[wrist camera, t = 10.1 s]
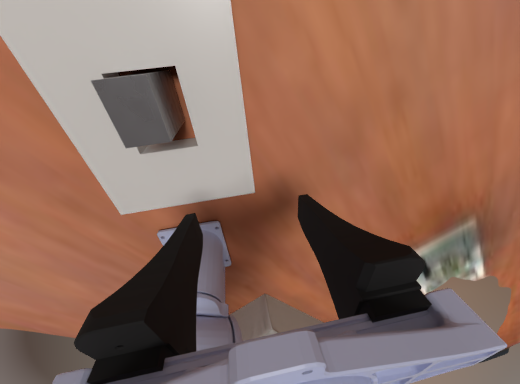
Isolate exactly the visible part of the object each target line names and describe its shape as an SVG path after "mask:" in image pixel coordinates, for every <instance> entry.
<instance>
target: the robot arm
mask: <svg viewBox="0 0 520 384" xmlns="http://www.w3.org/2000/svg"><path fill="white" fill-rule="evenodd" d="M298 219H299V222H300V225H301V227H302V230H303V232H304V234H305V236H306V238H307V240H308V242H309V244H310V246H311V248H312V250H313V251H314V253H315V255H316V257H317V260H318V262H319V264H320V267H321V270H322V272H323V275H324V277H325V280H326V283H327V285H328V288H329V291H330V294H331V297H332V300H333V303H334V306H335V309H336V312H337V315H338V318H339V320H334V321H330V322H325V323H321V324H316V325H312V326H307V327H303V328H299V329H294V330H290V331H285V332H281V333H276V334H272V335H267V336H263V337H258V338H254V339H249V340H245V341H243V340H242V333H241V329H240V327H239V325H238V322H237V320H236V318H235V317H234V316H232V315H228V304H225V267H227V266H230V265H231V260H230V256H229V253H228V249H227V246H226V242H225V239H224V235H223V232H222V228H221V225H220V222H219V221H212V222H206V223H200V224H199V222H198V219H197V217H196V214H195V213H194V214H188V215H186V216H185V217H184V218H183V220H182V221H181V223H180V224H179V226H178V227H177V228H172V229H166V230H160V231H158V233H157V236H158V237H159V239H160V241H161V243H162V244H163V247H162V248H161V250H160V251H159V252H158V253H157V254H156V255H155V256H154V257H153V259H152V260H151V261H150V262H149V263H148V264H147V265H146V266H145V267H144V268H143V269H141V270H140V271H139V272H138V273H137V274H136V275H135V276H134V277H133V278H132V279H131V280H129V281H128V282H127V283H126V284H125V285H123V286H122V287H121V288H120V289H118V290H117V291H116V292H115V293H113V294H112V295H111V296H109V297H108V298H107V299H105V300H104V301H103V302H101V303H100V304H98V305H97V306H96V307H94V308H93V309H91V311H90V312H89V314H88V316H87V318H86V320H85V322H84V324H83V325H82V327H81V329H80V331H79V333H78V335H77V337H76V339H75V341H74V344H75V347H76V349H78V350H79V351H80V352H82V353H84V354H86V355H88V356H90V357H91V358H93V359H95V360H96V361H95V364H94V366H93V368H92V369H91V368H84V369H79V370H74V371H70V372H65V373H60V374H58V375H57V376H56V377H55V379H54V381H53V383H52V384H410V383H413V382H416V381H419V380H423V379H426V378H429V377H433V376H436V375H439V374H442V373H446V372H450V371H453V370H457V369H461V368H464V367H468V366H472V365H475V364H477V363H479V362H481V361H482V360H484V359H486V358H488V357H490V356H491V355H493V354H495V353H497V352H499V351H501V350H502V349H504V348H506V347H507V344H506V343H505V342H504V341H503V340H502V339H501V338H500V337H499V336H498V335H497V334H496V333H495V332H494V331H493V330H492V329H491V328H490V327H489V326H488V325H487V324H486V323H485V322H484V321H483V320H482V319H481V318H480V317H479V316H478V315H477V314H476V313H475V312H474V311H473V310H472V309H471V308H470V307H469V306H468V305H467V304H466V303H465V302H464V301H463V300H462V299H461V298H460V297H459V296H458V295H457V294H456V293H455V292H454V291H453V290H452V289H450V288H447V289H442V290H437V291H433V292H429V293H427V294H425V295H424V294H423V293H422V292H421V291H420V290H419V289H421V286H420V284H419V283H418V282H417V281H416V280H417V279H418V277H419V276H420V274H421V273H422V271H423V269H424V267H425V262H424V260H423V259H422V258H421V257H420V256H419V255H418V254H417V253H416V252H415V251H414V250H413V249H412V248H411V247H410V246H407V245H404V244H400V243H397V242H394V241H390V240H387V239H385V238H382V237H379V236H376V235H374V234H371V233H369V232H367V231H365V230H362V229H360V228H358V227H356V226H354V225H352V224H350V223H348V222H346V221H345V220H343V219H341V218H339V217H338V216H336V215H335V214H333V213H332V212H330V211H329V210H327V209H326V208H324V207H323V206H322V205H320V204H319V203H318V202H316V201H315V200H314V199H312V198H311V197H310V196H309V195H307V194H306V195H300V196H299V199H298ZM216 227H217V228H216ZM162 236H164V237H162Z"/></svg>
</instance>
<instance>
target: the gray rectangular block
mask: <svg viewBox="0 0 520 384" xmlns="http://www.w3.org/2000/svg"><path fill="white" fill-rule="evenodd" d="M91 82H92V84H93V86H94V88H95V90H96V92H97V94H98V96H99V98H100V100H101V102H102V104H103V106H104V107H105V109H106V111H107V113H108V115H109V117H110V119H111V121H112V123H113V125H114V127H115V129H116V131H117V132H118V134H119V136H120V138H121V140H122V142H123V144H124V146H125V148H133V147H140V146H147V145H154V144H161V143H168V142H171V141H172V140H173V138H174V137H175V135H176V134H177V132H178V130H179V129H180V127H181V126H182V124H183V123H184V121H185V118H184V114H183V111H182V108H181V105H180V101H179V98H178V95H177V92H176V88H175V85H174V82H173V78H172V75H171V72H170V70H166V71H157V72H149V73H140V74H132V75H125V76H118V77H112V78H105V79H98V80H91Z"/></svg>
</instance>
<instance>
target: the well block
mask: <svg viewBox="0 0 520 384" xmlns="http://www.w3.org/2000/svg"><path fill="white" fill-rule="evenodd" d="M0 36H1V37H2V39H3V40H4V41H5V43H6V44H7V46H8V47H9V49H10V50H11V52H12V53H13V55H14V56H15V58H16V59H17V61H18V62H19V64H20V65H21V67H22V68H23V70H24V71H25V73H26V74H27V76H28V77H29V79H30V80H31V82H32V83H33V85H34V86H35V88H36V89H37V91H38V92H39V93H40V95H41V96H42V98H43V99H44V101H45V102H46V104H47V105H48V107H49V108H50V110H51V111H52V113H53V114H54V116H55V117H56V119H57V120H58V122H59V123H60V125H61V126H62V128H63V129H64V131H65V132H66V134H67V135H68V137H69V138H70V140H71V141H72V143H73V144H74V145H75V147H76V148H77V150H78V151H79V153H80V154H81V156H82V157H83V159H84V160H85V162H86V163H87V165H88V166H89V168H90V169H91V171H92V172H93V174H94V175H95V177H96V178H97V180H98V181H99V183H100V184H101V186H102V187H103V189H104V190H105V192H106V193H107V195H108V196H109V198H110V199H111V200H112V202H113V203H114V205H115V206H116V208H117V209H118V211H119V212H120V214H121V215H122V214H128V213H135V212H141V211H147V210H153V209H159V208H165V207H171V206H177V205H183V204H189V203H195V202H201V201H207V200H213V199H219V198H226V197H232V196H238V195H244V194H250V193H255V188H254V180H253V172H252V165H251V157H250V149H249V141H248V133H247V126H246V118H245V110H244V102H243V95H242V87H241V79H240V71H239V63H238V56H237V48H236V40H235V32H234V24H233V17H232V9H231V1H230V0H0ZM168 66H175V67H176V71H177V74H178V78H179V81H180V85H181V88H182V92H183V95H184V99H185V102H186V105H187V109H188V112H189V116H190V119H191V123H192V126H193V130H194V133H195V137H196V138H189V139H182V140H175V141H171V142H168V143H161V144H154V145H147V146H140V147H133V148H125V146H124V144H123V142H122V140H121V138H120V136H119V134H118V132H117V131H116V129H115V127H114V125H113V123H112V121H111V119H110V117H109V115H108V113H107V111H106V109H105V107H104V106H103V104H102V102H101V100H100V98H99V96H98V94H97V92H96V90H95V88H94V86H93V84H92V82H91V80H98V79H105V78H112V77H118V76H119V74H118V72H123V71H132V70H141V69H150V68H159V67H168Z"/></svg>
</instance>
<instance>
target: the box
mask: <svg viewBox="0 0 520 384" xmlns="http://www.w3.org/2000/svg"><path fill="white" fill-rule="evenodd" d="M230 315H232V316H234V317H235V318H236V320H237V322H238V325H239V327H240V329H241V333H242V340H243V341H245V340H249V339H254V338H258V337H263V336H267V335H272V334H276V333H281V332H285V331H290V330H294V329H299V328H303V327H307V326H312V325H316V324H321V323H324V322H322V321H320V320H318V319H316V318H314V317H312V316H310V315H308V314H306V313H303V312H301V311H299V310H297V309H295V308H293V307H291V306H289V305H287V304H285V303H283V302H281V301H279V300H277V299H275V298H273V297H271V296H269V295H267V294H263V295H262V296H260V297H259V298H257V299H255V300H254V301H252V302H250V303H249V304H247V305H245V306H244V307H242V308H240V309H239V310H237V311H235V312H234V313H232V314H230Z"/></svg>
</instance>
